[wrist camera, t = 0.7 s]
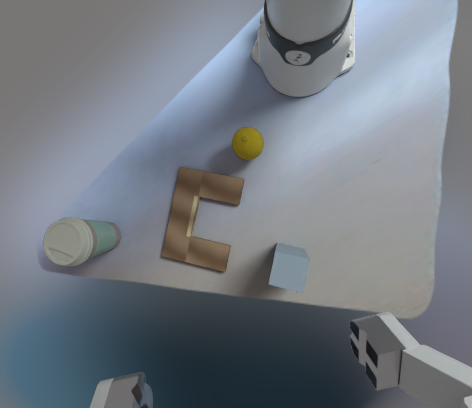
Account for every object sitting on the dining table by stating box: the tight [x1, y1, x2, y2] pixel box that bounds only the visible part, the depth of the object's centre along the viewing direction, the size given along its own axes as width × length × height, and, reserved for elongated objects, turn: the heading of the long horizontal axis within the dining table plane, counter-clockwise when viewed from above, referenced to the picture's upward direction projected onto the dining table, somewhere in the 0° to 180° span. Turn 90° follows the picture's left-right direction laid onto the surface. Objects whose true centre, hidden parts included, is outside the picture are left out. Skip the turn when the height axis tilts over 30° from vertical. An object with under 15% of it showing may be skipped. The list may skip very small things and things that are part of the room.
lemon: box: [232, 127, 264, 160], centre depth 48 cm, size 6×6×8 cm
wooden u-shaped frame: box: [162, 167, 244, 272], centre depth 53 cm, size 18×13×1 cm
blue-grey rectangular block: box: [269, 243, 309, 293], centre depth 45 cm, size 5×5×11 cm
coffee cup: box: [43, 217, 120, 266], centre depth 51 cm, size 9×9×12 cm
